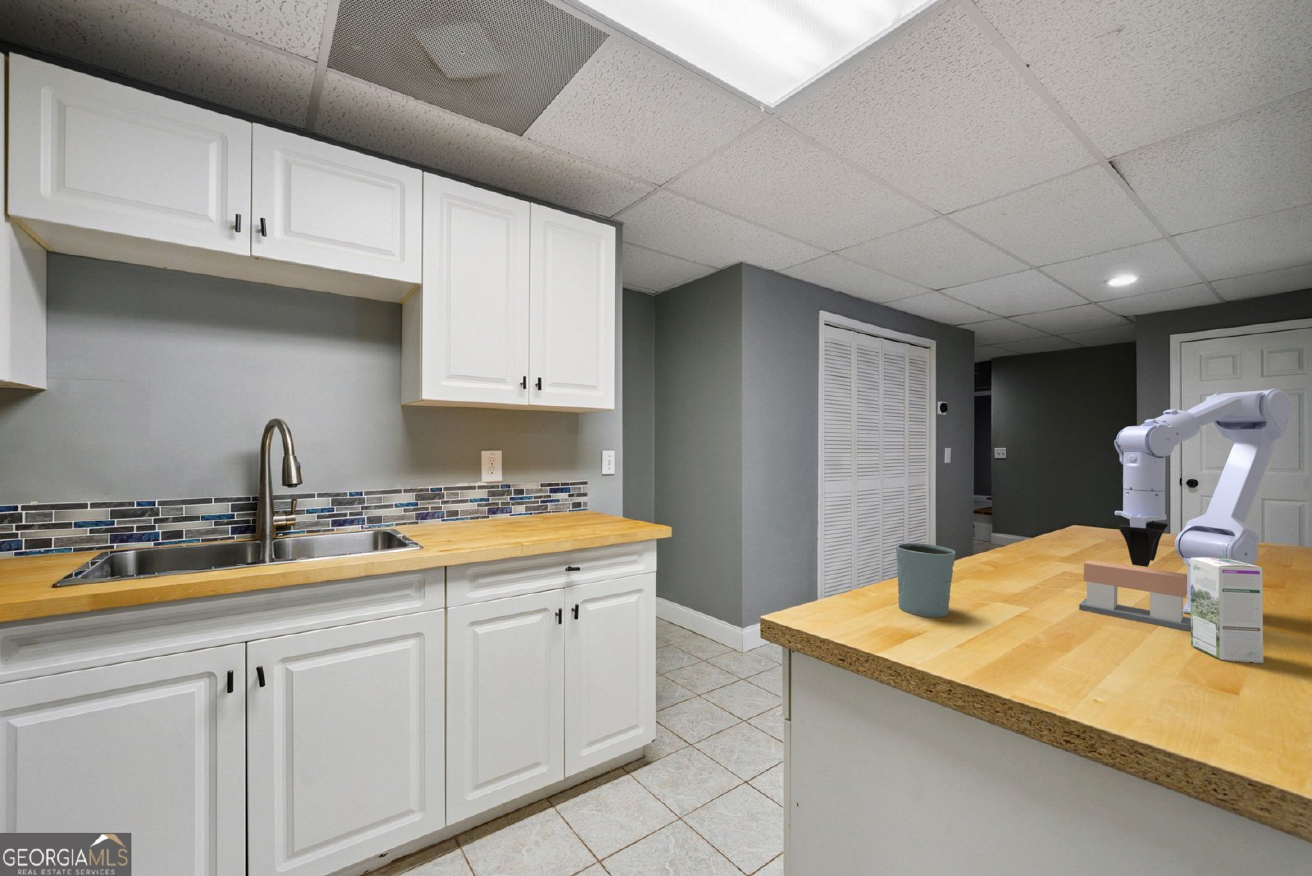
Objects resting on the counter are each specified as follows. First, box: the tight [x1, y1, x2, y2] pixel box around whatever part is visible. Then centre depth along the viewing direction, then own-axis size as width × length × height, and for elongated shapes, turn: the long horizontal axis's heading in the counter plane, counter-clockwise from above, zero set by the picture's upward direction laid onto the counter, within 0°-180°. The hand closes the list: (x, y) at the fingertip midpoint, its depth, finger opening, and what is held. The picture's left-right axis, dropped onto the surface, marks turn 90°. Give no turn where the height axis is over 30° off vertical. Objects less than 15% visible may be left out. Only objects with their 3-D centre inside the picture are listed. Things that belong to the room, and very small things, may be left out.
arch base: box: [1078, 581, 1191, 632], centre depth 98 cm, size 6×15×6 cm, turn 41°
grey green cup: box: [895, 542, 956, 618], centre depth 101 cm, size 10×10×12 cm
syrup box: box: [1190, 557, 1264, 664], centre depth 81 cm, size 6×6×14 cm
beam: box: [1083, 559, 1188, 599], centre depth 98 cm, size 4×14×4 cm, turn 41°
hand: (1143, 562), depth 97 cm, fingers open, 7 cm apart
